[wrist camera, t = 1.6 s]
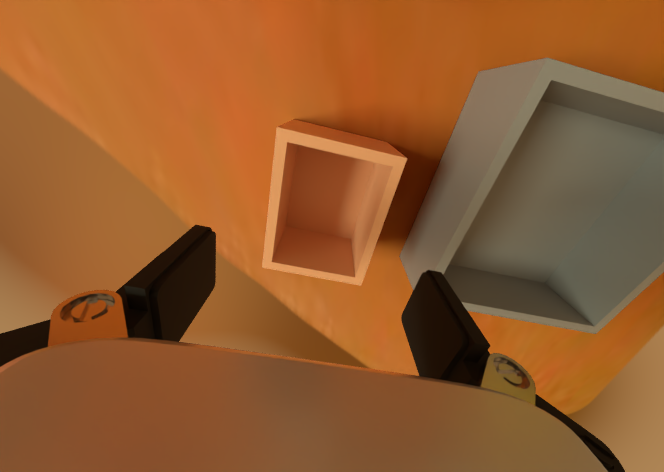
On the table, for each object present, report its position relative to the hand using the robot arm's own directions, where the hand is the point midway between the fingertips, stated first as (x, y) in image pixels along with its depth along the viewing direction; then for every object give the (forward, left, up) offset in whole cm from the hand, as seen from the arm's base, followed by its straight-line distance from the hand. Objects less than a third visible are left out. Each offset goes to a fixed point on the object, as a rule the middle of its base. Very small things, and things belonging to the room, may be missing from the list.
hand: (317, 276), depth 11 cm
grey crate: (-3, +16, -11) cm, 19 cm away
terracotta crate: (-1, 0, -11) cm, 11 cm away
